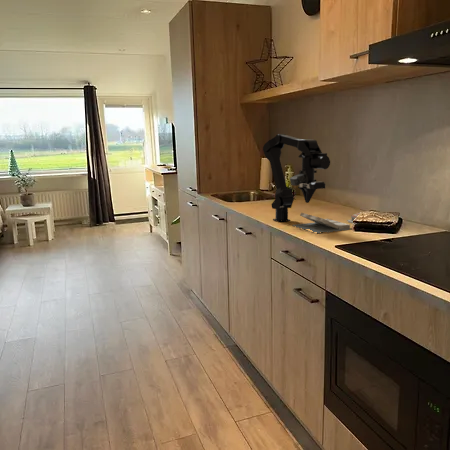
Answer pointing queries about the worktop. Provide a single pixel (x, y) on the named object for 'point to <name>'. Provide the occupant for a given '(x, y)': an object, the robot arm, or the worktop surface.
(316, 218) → the loose plank
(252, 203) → the worktop surface
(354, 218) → the packaged product
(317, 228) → the underlay mat
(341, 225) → the grey flat block
